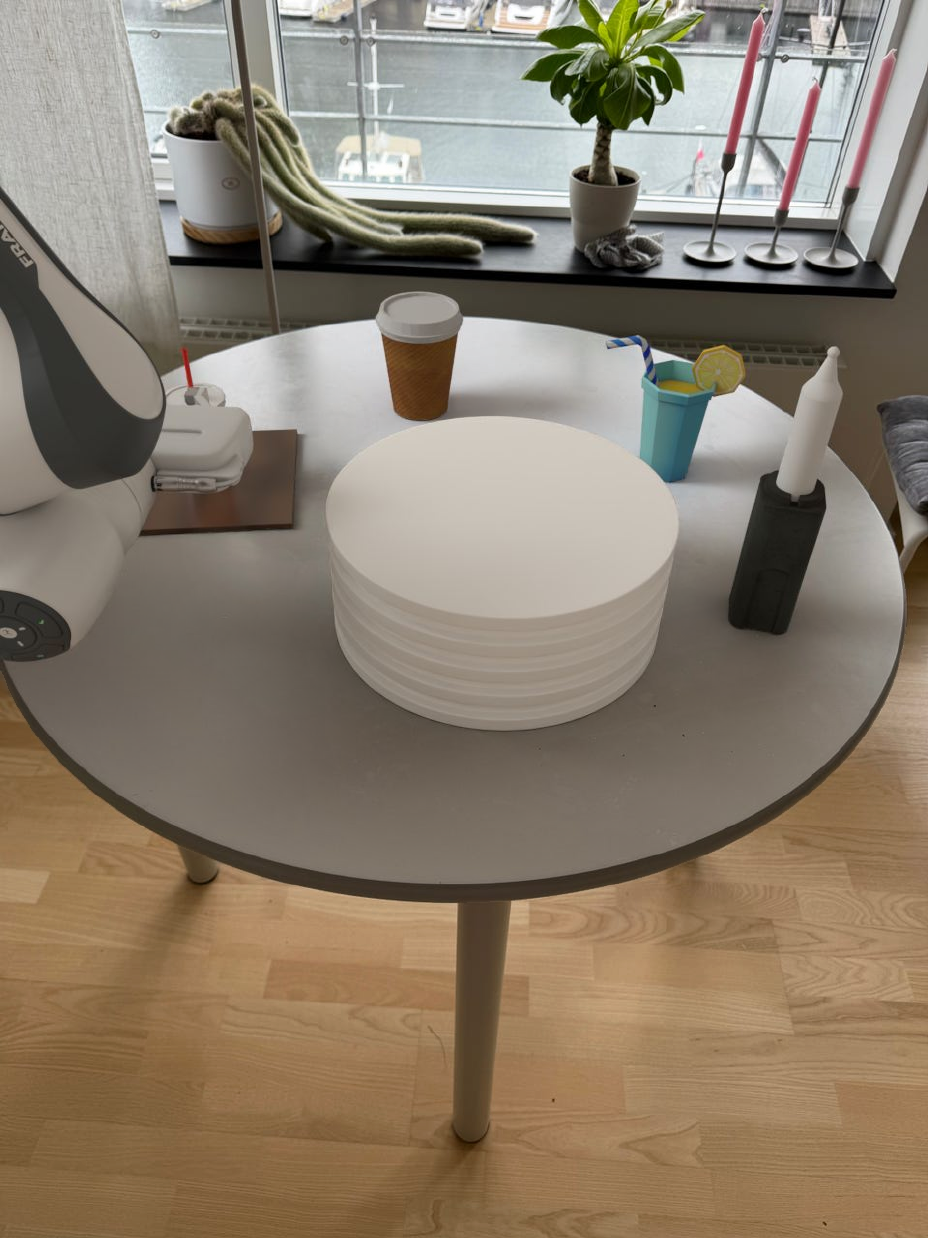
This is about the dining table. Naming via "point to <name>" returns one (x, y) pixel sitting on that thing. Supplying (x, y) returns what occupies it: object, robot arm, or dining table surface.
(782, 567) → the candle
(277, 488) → the placemat
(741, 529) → the dining table surface
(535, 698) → the plate stack
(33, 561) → the robot arm
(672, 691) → the dining table surface
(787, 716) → the dining table surface
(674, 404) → the cup
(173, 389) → the beverage cup
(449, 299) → the disposable coffee cup
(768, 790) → the dining table surface
